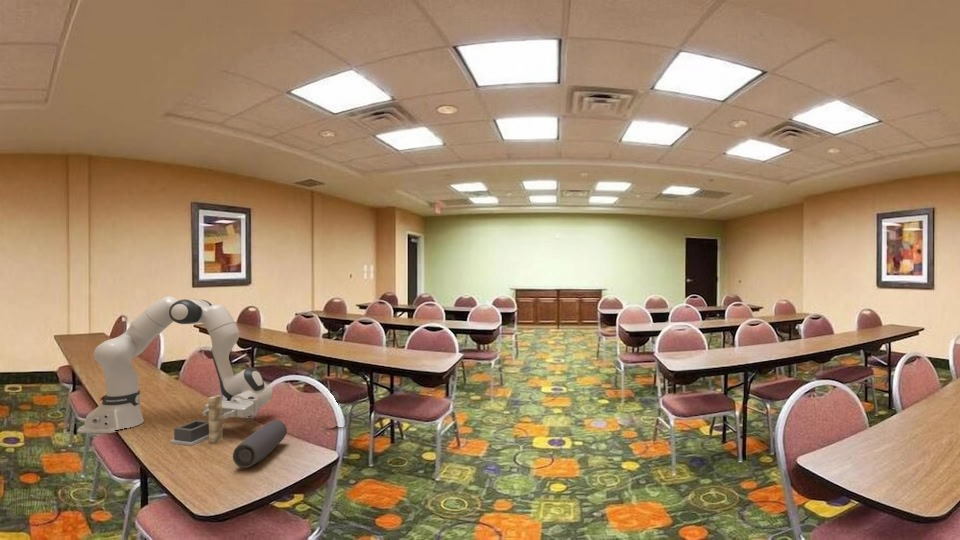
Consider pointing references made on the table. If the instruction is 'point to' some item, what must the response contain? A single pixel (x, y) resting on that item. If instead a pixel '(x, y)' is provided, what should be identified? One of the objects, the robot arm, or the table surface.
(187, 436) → the grey hollow box
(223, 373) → the robot arm
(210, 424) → the slat
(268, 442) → the bluetooth speaker
